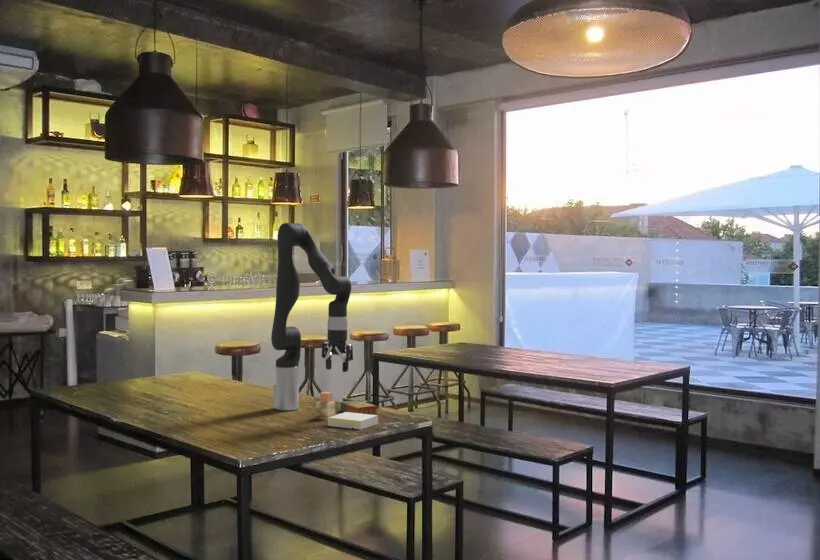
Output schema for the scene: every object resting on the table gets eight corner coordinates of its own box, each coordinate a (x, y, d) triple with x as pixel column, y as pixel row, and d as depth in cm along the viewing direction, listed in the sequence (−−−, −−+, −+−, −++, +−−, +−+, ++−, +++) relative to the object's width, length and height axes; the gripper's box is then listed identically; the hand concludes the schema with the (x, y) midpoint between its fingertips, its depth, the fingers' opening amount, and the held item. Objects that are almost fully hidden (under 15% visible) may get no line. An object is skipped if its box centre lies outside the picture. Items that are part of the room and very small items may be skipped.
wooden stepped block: (314, 419, 294) (314, 402, 293) (325, 415, 300) (325, 399, 300) (326, 420, 291) (326, 403, 291) (336, 417, 297) (336, 401, 297)
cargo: (319, 402, 295) (319, 393, 295) (324, 400, 298) (324, 391, 298) (327, 402, 293) (327, 393, 293) (332, 401, 296) (332, 392, 296)
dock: (327, 425, 281) (327, 417, 281) (345, 419, 291) (345, 411, 291) (360, 429, 274) (360, 421, 274) (377, 423, 285) (377, 415, 285)
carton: (357, 418, 296) (357, 407, 296) (339, 411, 310) (339, 401, 310) (377, 416, 300) (377, 405, 300) (358, 409, 314) (358, 399, 314)
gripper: (317, 327, 296) (316, 369, 297) (344, 330, 288) (343, 373, 288) (330, 326, 302) (330, 367, 303) (357, 329, 294) (357, 371, 294)
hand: (336, 370), depth 295 cm, fingers open, 8 cm apart
